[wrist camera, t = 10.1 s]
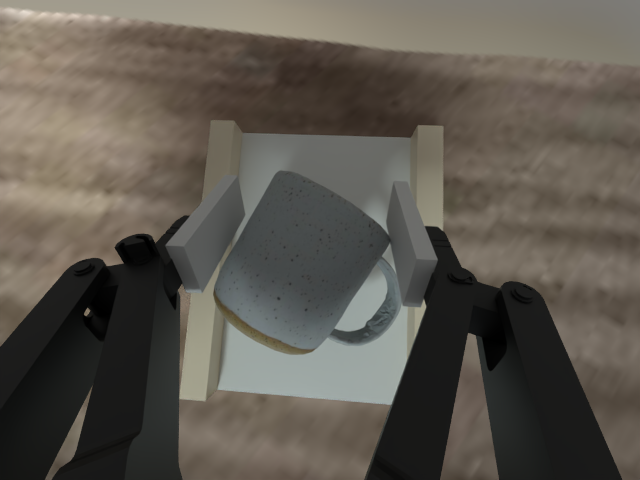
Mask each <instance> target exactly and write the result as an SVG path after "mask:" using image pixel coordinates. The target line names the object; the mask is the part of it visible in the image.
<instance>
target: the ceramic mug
mask: <svg viewBox="0 0 640 480" xmlns="http://www.w3.org/2000/svg"><path fill="white" fill-rule="evenodd" d="M390 241H391V240H390V237H389V235H388V234H387V232H386V231H385V230H384V229H383V228H382V227H381V225H379V224H378V223H377V222H376V221H375V220H374V219H372V218H371V217H370V216H368V215H367V214H366V213H365V212H363V211H362V210H361V209H359V208H358V207H356V206H355V205H354V204H352V203H351V202H350V201H348V200H346V199H344V198H343V197H341V196H340V195H338V194H336V193H335V192H333V191H331V190H329V189H327V188H326V187H324V186H322V185H320V184H318V183H316V182H314V181H312V180H310V179H309V178H307V177H304V176H302V175H300V174H298V173H295V172H292V171H278V172H277V173H276V174H275V175H274V177H273V178H272V180H271V182H270V184H269V186H268V187H267V189H266V191H265V193H264V195H263V196H262V198H261V200H260V202H259V203H258V205H257V207H256V208H255V210H254V212H253V214H252V215H251V217H250V219H249V220H248V222H247V224H246V226H245V227H244V229H243V231H242V233H241V235H240V237H239V238H238V240H237V242H236V244H235V245H234V247H233V249H232V250H231V252H230V253H229V255H228V257H227V258H226V260H225V262H224V264H223V266H222V267H221V270H220V272H219V275H218V278H217V280H216V283H215V285H214V291H213V296H214V301H215V303H216V306H217V308H218V309H219V311H220V312H221V313H222V315H223V316H224V317H225V318H226V320H227V321H228V322H229V323H230V324H232V325H233V326H234V327H235V328H236V329H238V330H239V331H240V332H242V333H243V334H244V335H246V336H248V337H249V338H251V339H253V340H254V341H256V342H258V343H260V344H262V345H264V346H266V347H269V348H271V349H273V350H275V351H278V352H282V353H285V354H289V355H304V354H307V353H310V352H313V351H314V350H315V349H317V348H318V347H319V346H320V345H321V344H322V343H323V342H324V341H325V340H326V339H327V338H329V339H330V340H332V341H335V342H336V343H340V344H343V345H346V346H362V345H365V344H368V343H370V342H372V341H374V340H376V339H378V338H379V337H380V336H382V335H383V334H384V333H385V332H386V331H387V330H388V329H389V328H390V326H391V325H392V324H393V322H394V321H395V319H396V317H397V315H398V313H399V311H400V308H401V305H402V300H401V295H400V290H399V285H398V279H397V275H396V273H395V271H394V270H393V268H392V267H391V265H390V264H389V263H388V262H387V261H386V260H385V259H384V258H383V257H382V255H383V254H384V252H385V251H386V249H387V247H388V245H389V243H390ZM376 264H377V265H378V266H379V268H380V269H381V271H382V272H383V274H384V276H385V278H386V282H387V288H388V289H387V294H386V298H385V300H384V302H383V303H382V305H381V306H380V308H379V309H378V310H377V312H376V313H375V314H374V316H373V317H372V318H371V319H370V320H368V321H367V322H366V324H365V327H363V328H361V329H359V330H355V331H343V330H337V329H334V328H335V327H336V325H337V323H338V322H339V320H340V319H341V317H342V316H343V314H344V312H345V310H346V309H347V307H348V305H349V304H350V302H351V301H352V299H353V298H354V296H355V295H356V293H357V292H358V290H359V289H360V288H361V286H362V285H363V283H364V282H365V280H366V279H367V277H368V276H369V274H370V273H371V271H372V269H373V268H374V267H375V265H376Z"/></svg>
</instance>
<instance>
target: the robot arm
mask: <svg viewBox="0 0 640 480" xmlns="http://www.w3.org/2000/svg"><path fill="white" fill-rule="evenodd" d="M245 215H246V214H245V209H244V204H243V199H242V194H241V189H240V184H239V179H238V175H225V176H224V177H223V178H222V179H221V180H220V181H219V183H218V184H217V185H216V186H215V187H214V189H213V190H212V191H211V192H210V193H209V194H208V196H207V197H206V198H205V199H204V200H203V201H202V203H201V204H200V205H199V206H198V207H197V209H196V210H195V211H194V212H193V213H192V214H191V216H183V217H182V218H180V219H178V220H177V221H175V223H174V224H173V225H172V226H171V227H170V229H168V230H167V231H166V234H164V235H163V236H162V237H161V238H160V239H159V240H158V241H157V242H156V244H155V242H154V240H153V238H152V236H150V235H149V234H136V235H132V236H129V237H127V238H125V239H123V240H121V241H120V242H119V243H117V245H116V246H115V249H116V251H117V252H118V254H119V256H120V257H121V259H122V261H123V262H124V264H119V265H113V266H106V264H105V263H104V261H103V260H101V259H99V258H90V259H85V260H82V261H79V262H77V263H76V264H74V265H72V266H71V267H69V268H68V269H67V270H66V271H65V272H64V273H63V275H62V276H61V277H60V278H59V279H58V280H57V282H56V283H55V284H54V285H53V286H52V287H51V288H50V290H49V291H48V292H47V293H46V294H45V295H44V297H43V298H42V299H41V300H40V301H39V302H38V304H37V305H36V306H35V307H34V308H33V309H32V311H31V312H30V313H29V314H28V315H27V316H26V318H25V319H24V320H23V321H22V322H21V323H20V325H19V326H18V327H17V328H16V329H15V330H14V332H13V333H12V334H11V335H10V336H9V337H8V339H7V340H6V341H5V342H4V343H3V344H2V346H1V347H0V480H45V478H46V476H47V474H48V472H49V470H50V468H51V466H52V464H53V462H54V460H55V458H56V456H57V454H58V452H59V450H60V448H61V446H62V444H63V442H64V440H65V438H66V436H67V434H68V432H69V430H70V428H71V427H72V425H73V423H74V421H75V419H76V417H77V415H78V413H79V411H80V409H81V407H82V405H83V403H84V401H85V399H86V397H87V395H88V393H89V391H90V389H91V387H92V385H93V387H92V391H91V395H90V399H89V403H88V407H87V411H86V415H85V419H84V423H83V426H82V430H81V434H80V438H79V442H78V446H77V450H76V452H75V455H74V457H73V458H72V460H71V461H70V462H68V463H67V464H65V465H64V466H62V467H61V468H59V470H58V471H57V473H56V474H55V475H54V477H53V479H52V480H182V476H181V472H180V469H179V462H178V440H179V360H180V295H179V292H178V289H179V288H180V286H181V284H183V286H184V289H185V291H186V292H190V293H203V291H204V289H205V288H206V286H207V284H208V282H209V280H210V279H211V277H212V275H213V273H214V271H215V270H216V268H217V266H218V264H219V262H220V260H221V259H222V257H223V255H224V253H225V251H226V250H227V248H228V246H229V244H230V242H231V241H232V239H233V237H234V235H235V233H236V232H237V230H238V228H239V226H240V224H241V223H242V221H243V219H244V217H245ZM386 224H387V229H388V234H389V237H390V240H391V241H390V244H391V249H392V254H393V259H394V264H395V269H396V274H397V279H398V285H399V290H400V295H401V300H402V305H403V306H405V307H420V308H421V306H422V303H423V300H424V301H425V304H426V310H425V312H424V315H423V317H422V320H421V323H420V326H419V329H418V332H417V334H416V337H415V340H414V343H413V345H412V348H411V351H410V354H409V357H408V359H407V362H406V365H405V368H404V371H403V373H402V376H401V379H400V382H399V384H398V387H397V390H396V393H395V396H394V398H393V401H392V404H391V407H390V410H389V412H388V415H387V418H386V421H385V423H384V426H383V429H382V432H381V435H380V437H379V440H378V443H377V446H376V449H375V451H374V454H373V457H372V460H371V462H370V465H369V468H368V471H367V474H366V476H365V479H364V480H440V476H441V471H442V466H443V460H444V455H445V450H446V445H447V439H448V434H449V429H450V424H451V419H452V413H453V408H454V403H455V398H456V392H457V387H458V382H459V377H460V371H461V366H462V361H463V356H464V350H465V345H466V340H467V335H468V333H471V334H474V335H476V339H477V345H478V352H479V358H480V364H481V370H482V376H483V382H484V389H485V395H486V401H487V407H488V413H489V419H490V426H491V432H492V438H493V444H494V450H495V457H496V463H497V469H498V475H499V480H622V478H621V476H620V473H619V471H618V469H617V466H616V464H615V462H614V460H613V457H612V455H611V453H610V450H609V448H608V446H607V444H606V441H605V439H604V437H603V434H602V432H601V430H600V427H599V425H598V423H597V421H596V418H595V416H594V414H593V411H592V409H591V407H590V405H589V402H588V400H587V398H586V395H585V393H584V391H583V388H582V386H581V384H580V382H579V379H578V377H577V375H576V372H575V370H574V368H573V366H572V363H571V361H570V359H569V356H568V354H567V352H566V349H565V347H564V345H563V343H562V340H561V338H560V336H559V333H558V331H557V329H556V327H555V324H554V322H553V320H552V317H551V315H550V313H549V310H548V308H547V306H546V304H545V301H544V299H543V298H542V296H541V295H540V293H538V292H537V291H536V290H535V289H533V288H532V287H530V286H528V285H526V284H523V283H520V282H513V281H509V282H506V283H504V284H503V285H502V286H501V288H496V287H493V286H489V285H486V284H482V283H480V282H477V279H476V278H475V276H474V275H473V274H472V273H471V272H469V271H468V270H466V269H464V268H462V267H461V265H460V263H459V261H458V259H457V257H456V255H455V253H454V251H453V248H451V244H450V242H448V241H449V240H448V238H447V236H446V234H445V233H444V232H443V231H442V230H441V229H440V228H439V227H437V226H424V224H423V221H422V218H421V216H420V213H419V211H418V208H417V206H416V203H415V200H414V198H413V195H412V193H411V190H410V188H409V185H408V183H407V181H393V186H392V191H391V197H390V202H389V208H388V213H387V219H386ZM87 307H88V308H89V310H90V313H89V314H88V315H87V316H85V315H84V312H85V310H86V309H87Z"/></svg>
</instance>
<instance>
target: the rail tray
mask: <svg viewBox="0 0 640 480" xmlns="http://www.w3.org/2000/svg"><path fill="white" fill-rule="evenodd" d="M278 171H292V172H295V173H298V174H300V175H302V176H304V177H307V178H309V179H310V180H312V181H314V182H316V183H318V184H320V185H322V186H324V187H326V188H327V189H329V190H331V191H333V192H335V193H336V194H338V195H340V196H341V197H343V198H344V199H346V200H348V201H350V202H351V203H352V204H354V205H355V206H356V207H358V208H359V209H361V210H362V211H363V212H365V213H366V214H367V215H368V216H370V217H371V218H372V219H374V220H375V221H376V222H377V223H378V224H379V225H381V227H382V228H383V229H384V230H385V231H386V232H387V234H388V229H387V224H386V219H387V213H388V208H389V202H390V197H391V191H392V186H393V181H407V183H408V185H409V188H410V190H411V193H412V195H413V198H414V200H415V203H416V206H417V208H418V211H419V213H420V216H421V218H422V221H423V224H424V226H437V227H439V228H440V229H441V230H442V231H443V126H431V125H418V126H417V127H416V129H415V131H414V133H413V135H412V136H411V138H405V137H369V136H333V135H297V134H262V133H242V131H241V130H240V128H239V127H238V125H237V124H236V122H235V121H232V120H211V125H210V134H209V142H208V151H207V160H206V169H205V177H204V186H203V195H202V201H203V200H204V199H205V198H206V197H207V196H208V194H209V193H210V192H211V191H212V190H213V189H214V187H215V186H216V185H217V184H218V183H219V181H220V180H221V179H222V178H223V177H224V176H225V175H238V179H239V184H240V189H241V194H242V199H243V204H244V209H245V214H246V215H245V217H244V219H243V221H242V223H241V224H240V226H239V228H238V230H237V232H236V233H235V235H234V237H233V239H232V241H231V242H230V244H229V246H228V248H227V250H226V251H225V253H224V255H223V257H222V259H221V260H220V262H219V264H218V266H217V268H216V270H215V271H214V273H213V275H212V277H211V279H210V280H209V282H208V284H207V286H206V288H205V289H204V291H203V293H191V300H190V309H189V318H188V327H187V335H186V344H185V353H184V362H183V371H182V379H181V388H180V397H179V399H187V400H198V401H206V400H207V399H208V398H209V397H210V396H211V395H212V394H213V393H214V392H215V391H216V390H228V391H240V392H251V393H263V394H274V395H286V396H297V397H309V398H320V399H331V400H343V401H354V402H366V403H377V404H389V405H391V404H392V401H393V398H394V396H395V393H396V390H397V387H398V384H399V382H400V379H401V376H402V373H403V371H404V368H405V365H406V362H407V359H408V357H409V354H410V351H411V348H412V345H413V343H414V340H415V337H416V334H417V332H418V329H419V326H420V323H421V320H422V317H423V315H424V312H425V310H426V304H425V301H424V300H423V303H422V306H421V308H420V307H405V306H403V305H401V308H400V311H399V313H398V315H397V317H396V319H395V321H394V322H393V324H392V325H391V326H390V328H389V329H388V330H387V331H386V332H385V333H384V334H383V335H382V336H380V337H379V338H378V339H376V340H374V341H372V342H370V343H368V344H365V345H362V346H346V345H343V344H340V343H336V342H335V341H332V340H330V339H329V338H327V339H326V340H325V341H324V342H323V343H322V344H321V345H320V346H319V347H318V348H317V349H315V350H314V351H313V352H310V353H307V354H304V355H289V354H285V353H282V352H278V351H275V350H273V349H271V348H269V347H266V346H264V345H262V344H260V343H258V342H256V341H254V340H253V339H251V338H249V337H248V336H246V335H244V334H243V333H242V332H240V331H239V330H238V329H236V328H235V327H234V326H233V325H232V324H230V323H229V322H228V321H227V320H226V318H225V317H224V316H223V315H222V313H221V312H220V311H219V309H218V308H217V306H216V303H215V301H214V296H213V291H214V285H215V283H216V280H217V278H218V275H219V272H220V270H221V267H222V266H223V264H224V262H225V260H226V258H227V257H228V255H229V253H230V252H231V250H232V249H233V247H234V245H235V244H236V242H237V240H238V238H239V237H240V235H241V233H242V231H243V229H244V227H245V226H246V224H247V222H248V220H249V219H250V217H251V215H252V214H253V212H254V210H255V208H256V207H257V205H258V203H259V202H260V200H261V198H262V196H263V195H264V193H265V191H266V189H267V187H268V186H269V184H270V182H271V180H272V178H273V177H274V175H275V174H276V173H277V172H278ZM388 235H389V234H388ZM382 257H383V258H384V259H385V260H386V261H387V262H388V263H389V264H390V265H391V267H392V268H393V270H394V271H395V273H396V269H395V264H394V259H393V254H392V249H391V244H390V243H389V245H388V247H387V249H386V251H385V252H384V254H383V255H382ZM396 275H397V274H396ZM387 289H388V288H387V282H386V278H385V276H384V274H383V272H382V271H381V269H380V268H379V266H378V265H377V264H376V265H375V267H374V268H373V269H372V271H371V273H370V274H369V276H368V277H367V279H366V280H365V282H364V283H363V285H362V286H361V288H360V289H359V290H358V292H357V293H356V295H355V296H354V298H353V299H352V301H351V302H350V304H349V305H348V307H347V309H346V310H345V312H344V314H343V316H342V317H341V319H340V320H339V322H338V323H337V325H336V327H335V328H334V329H337V330H343V331H355V330H359V329H361V328H363V327H365V324H366V322H367V321H368V320H370V319H371V318H372V317H373V316H374V314H375V313H376V312H377V310H378V309H379V308H380V306H381V305H382V303H383V302H384V300H385V298H386V294H387Z"/></svg>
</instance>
